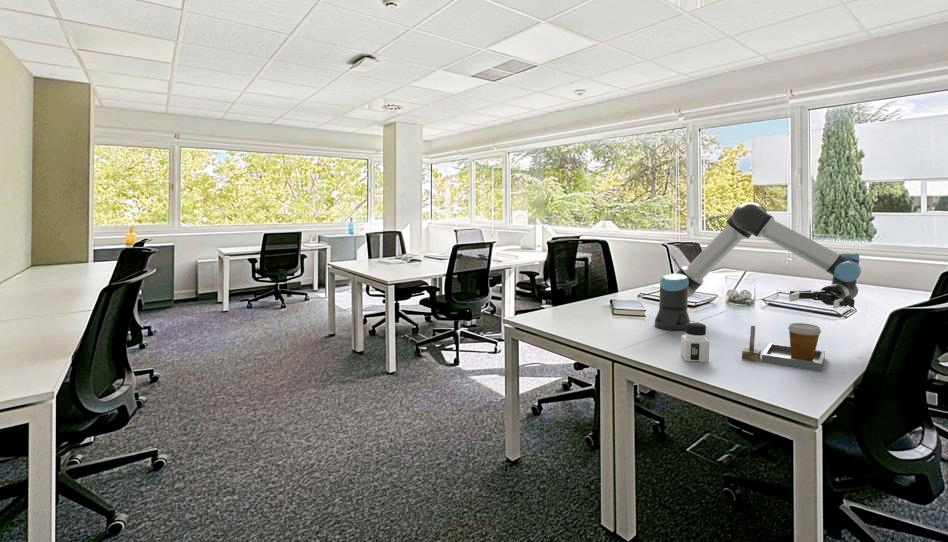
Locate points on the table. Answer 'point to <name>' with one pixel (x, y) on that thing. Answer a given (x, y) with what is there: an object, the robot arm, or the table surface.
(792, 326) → the disposable coffee cup
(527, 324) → the table surface
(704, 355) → the container
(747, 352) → the stand
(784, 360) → the tray
